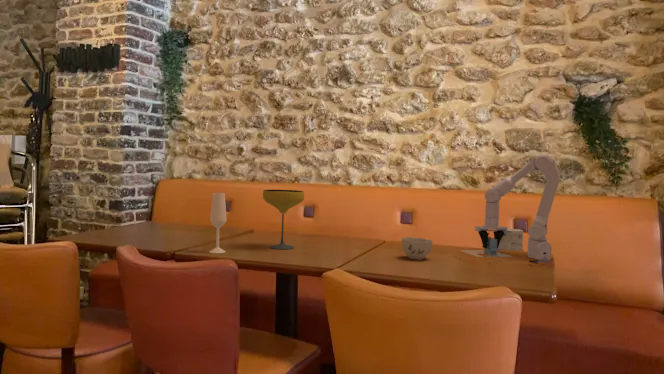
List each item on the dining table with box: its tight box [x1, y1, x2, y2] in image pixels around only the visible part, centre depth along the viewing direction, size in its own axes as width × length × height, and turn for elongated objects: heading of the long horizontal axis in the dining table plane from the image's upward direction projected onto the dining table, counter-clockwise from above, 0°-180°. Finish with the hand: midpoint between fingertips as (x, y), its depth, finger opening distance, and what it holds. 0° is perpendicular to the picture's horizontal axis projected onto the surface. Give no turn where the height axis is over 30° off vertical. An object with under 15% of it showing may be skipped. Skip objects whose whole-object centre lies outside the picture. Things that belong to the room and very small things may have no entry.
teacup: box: [401, 236, 433, 261], centre depth 221 cm, size 15×12×8 cm
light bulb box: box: [498, 228, 524, 252], centre depth 245 cm, size 11×7×11 cm, turn 84°
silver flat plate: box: [459, 249, 514, 258], centre depth 230 cm, size 17×16×2 cm
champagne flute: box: [209, 192, 228, 254], centre depth 219 cm, size 7×7×24 cm
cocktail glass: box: [262, 189, 305, 250], centre depth 236 cm, size 18×18×25 cm
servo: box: [481, 236, 500, 253], centre depth 234 cm, size 9×3×6 cm, turn 13°
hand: (490, 247), depth 234 cm, fingers open, 5 cm apart
